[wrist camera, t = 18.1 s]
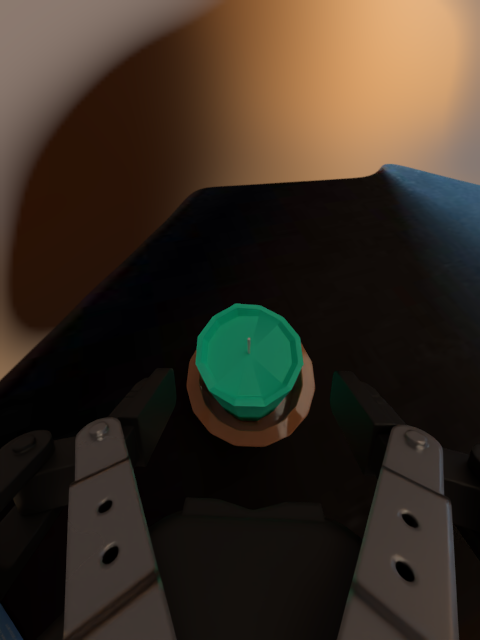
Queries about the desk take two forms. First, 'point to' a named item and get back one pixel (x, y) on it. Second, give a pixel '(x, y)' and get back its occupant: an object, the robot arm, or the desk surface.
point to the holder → (252, 432)
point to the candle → (249, 360)
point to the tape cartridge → (7, 627)
